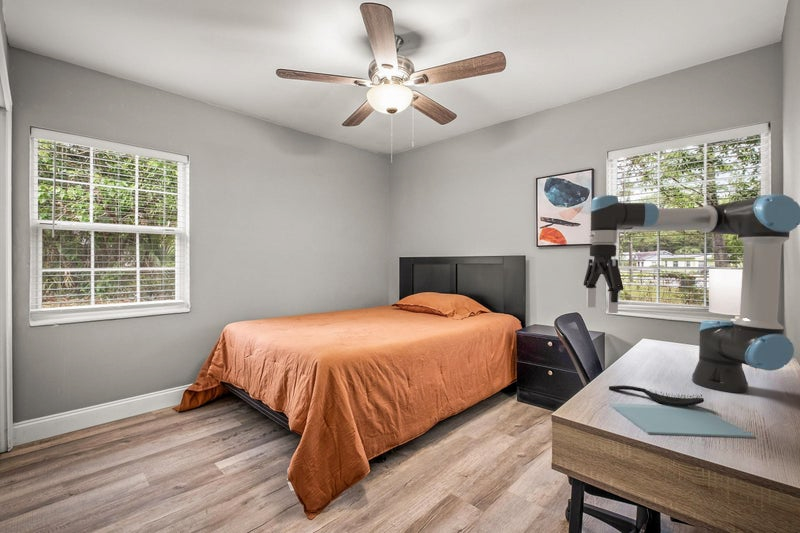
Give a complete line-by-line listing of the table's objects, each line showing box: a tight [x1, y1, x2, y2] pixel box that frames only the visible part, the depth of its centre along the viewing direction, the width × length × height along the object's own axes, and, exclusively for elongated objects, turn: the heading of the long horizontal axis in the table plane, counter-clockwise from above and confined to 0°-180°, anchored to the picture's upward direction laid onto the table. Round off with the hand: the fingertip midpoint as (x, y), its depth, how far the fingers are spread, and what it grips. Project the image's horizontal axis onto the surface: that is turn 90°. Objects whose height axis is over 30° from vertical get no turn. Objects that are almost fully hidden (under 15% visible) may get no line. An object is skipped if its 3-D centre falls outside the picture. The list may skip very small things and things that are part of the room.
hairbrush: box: [608, 384, 705, 406], centre depth 118 cm, size 8×4×25 cm
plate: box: [606, 402, 756, 439], centre depth 103 cm, size 26×20×1 cm
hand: (601, 310), depth 121 cm, fingers open, 13 cm apart
